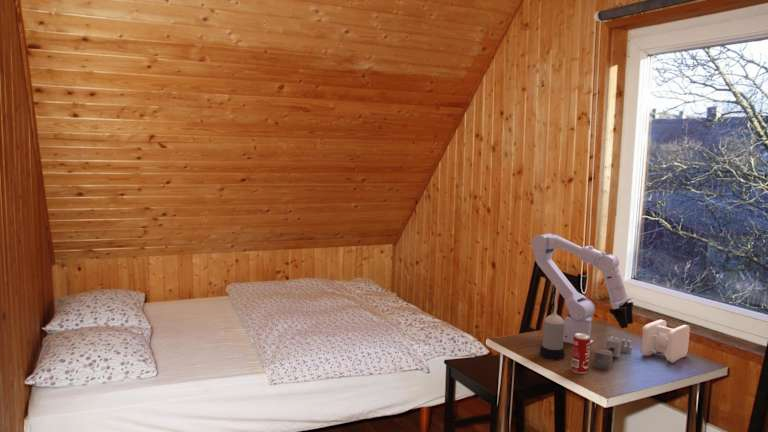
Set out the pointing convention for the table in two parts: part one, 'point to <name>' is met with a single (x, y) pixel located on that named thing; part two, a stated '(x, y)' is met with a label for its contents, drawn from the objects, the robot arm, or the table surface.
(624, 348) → the cable comb
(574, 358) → the soda can
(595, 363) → the block
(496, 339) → the table surface
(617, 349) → the grey slotted cube
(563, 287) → the robot arm
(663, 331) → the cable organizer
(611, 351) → the dark grey rod
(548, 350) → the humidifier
